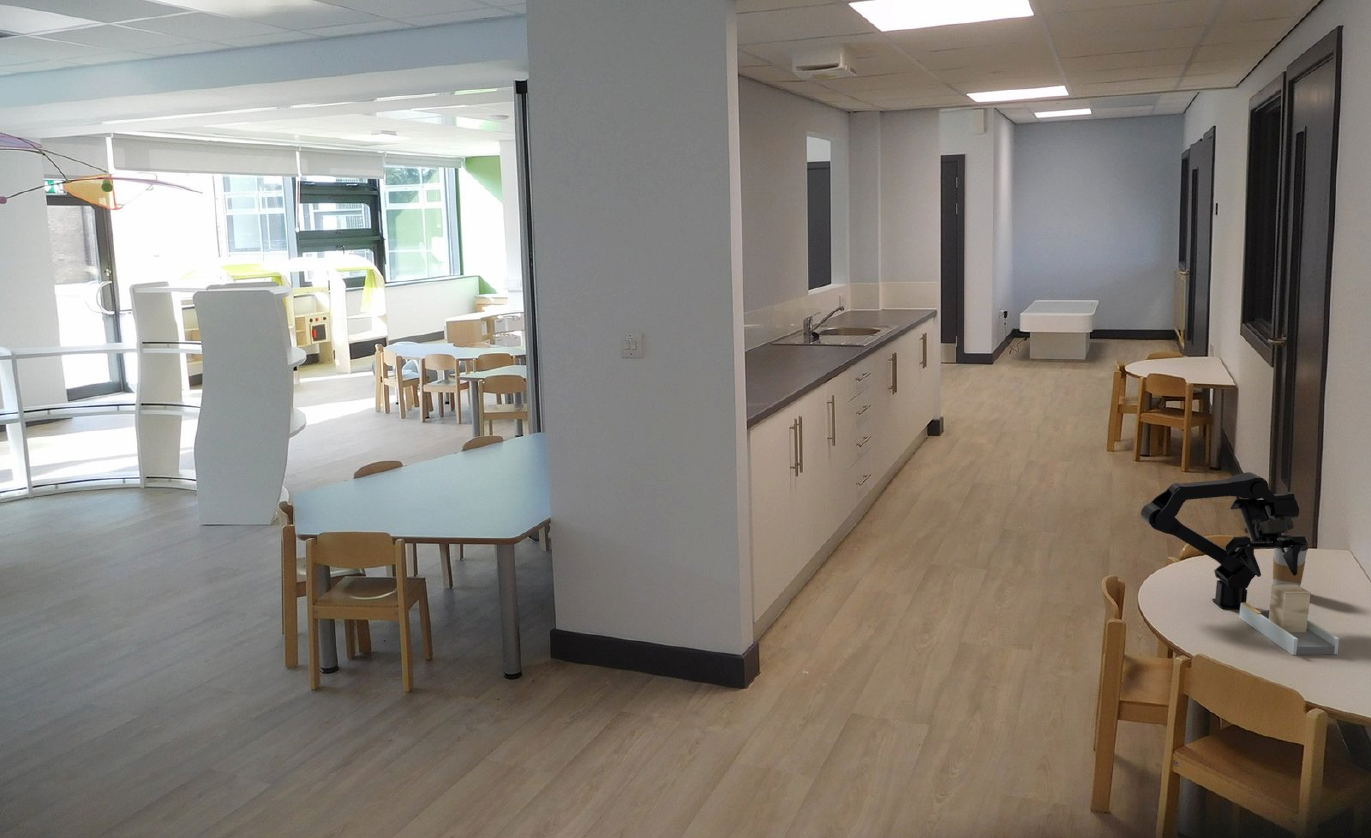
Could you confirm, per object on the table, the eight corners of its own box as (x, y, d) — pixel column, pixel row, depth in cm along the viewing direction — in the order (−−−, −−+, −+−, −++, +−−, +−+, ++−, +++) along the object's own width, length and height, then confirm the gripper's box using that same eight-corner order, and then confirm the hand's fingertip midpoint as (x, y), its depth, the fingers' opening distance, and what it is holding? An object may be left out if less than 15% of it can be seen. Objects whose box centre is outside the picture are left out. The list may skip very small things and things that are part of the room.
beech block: (1268, 623, 269) (1272, 584, 268) (1292, 622, 270) (1296, 584, 268) (1281, 632, 264) (1285, 592, 262) (1306, 632, 264) (1310, 592, 262)
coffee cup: (1272, 584, 304) (1277, 532, 301) (1306, 590, 298) (1311, 537, 296) (1265, 592, 297) (1270, 539, 294) (1299, 598, 292) (1305, 545, 289)
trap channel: (1239, 617, 279) (1240, 601, 278) (1280, 617, 279) (1282, 600, 278) (1292, 655, 255) (1294, 637, 254) (1337, 654, 255) (1339, 636, 254)
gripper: (1235, 506, 274) (1255, 562, 265) (1307, 504, 274) (1330, 560, 266) (1216, 527, 283) (1235, 582, 274) (1286, 525, 284) (1308, 580, 275)
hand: (1277, 575), depth 272 cm, fingers open, 9 cm apart
